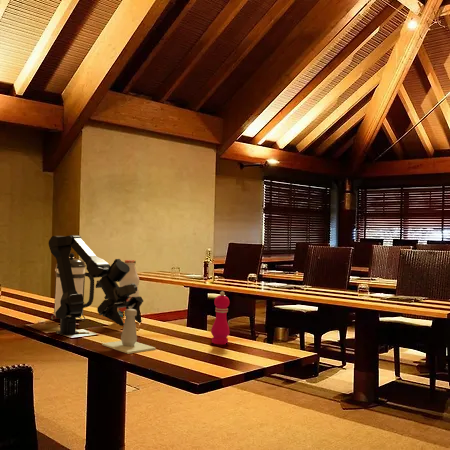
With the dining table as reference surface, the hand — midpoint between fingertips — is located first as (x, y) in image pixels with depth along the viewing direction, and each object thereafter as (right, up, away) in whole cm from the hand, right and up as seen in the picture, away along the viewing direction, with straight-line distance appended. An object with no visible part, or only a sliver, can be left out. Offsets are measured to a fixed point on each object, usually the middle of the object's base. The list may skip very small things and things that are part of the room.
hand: (131, 323), depth 194 cm
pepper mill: (+31, -11, +16) cm, 37 cm away
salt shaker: (-1, -8, +1) cm, 8 cm away
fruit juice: (-11, -8, +49) cm, 51 cm away
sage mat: (-1, -8, 0) cm, 9 cm away
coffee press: (-36, -7, +48) cm, 61 cm away
